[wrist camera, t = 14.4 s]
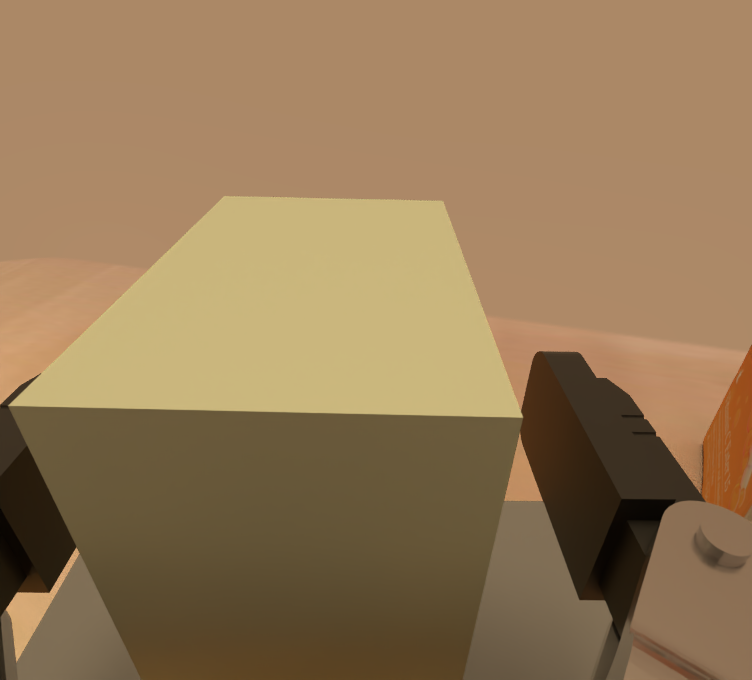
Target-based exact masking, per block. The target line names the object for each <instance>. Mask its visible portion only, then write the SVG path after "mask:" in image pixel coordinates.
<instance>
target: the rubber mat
mask: <svg viewBox="0 0 752 680" xmlns="http://www.w3.org/2000/svg"><path fill="white" fill-rule="evenodd" d="M611 619H612V616H611V614H610V611H609V609H608V606H607V604H606V601H605V600H579V598H578V595H577V592H576V590H575V587H574V584H573V581H572V579H571V576H570V573H569V570H568V568H567V565H566V562H565V560H564V557H563V554H562V551H561V549H560V546H559V543H558V540H557V538H556V535H555V532H554V529H553V527H552V524H551V521H550V518H549V516H548V513H547V510H546V507H545V505H544V502H543V501H504V503H503V507H502V511H501V516H500V520H499V524H498V529H497V533H496V537H495V542H494V546H493V550H492V555H491V559H490V564H489V568H488V572H487V577H486V581H485V585H484V590H483V594H482V598H481V603H480V607H479V611H478V616H477V620H476V624H475V629H474V633H473V637H472V642H471V646H470V650H469V655H468V659H467V663H466V668H465V672H464V676H463V680H590V678H591V675H592V672H593V669H594V666H595V663H596V660H597V657H598V654H599V651H600V648H601V645H602V642H603V639H604V636H605V633H606V630H607V627H608V625H609V623H610V621H611ZM16 666H17V675H18V680H141V678H140V676H139V674H138V672H137V670H136V668H135V666H134V664H133V662H132V660H131V657H130V655H129V653H128V651H127V649H126V647H125V645H124V643H123V641H122V639H121V637H120V635H119V633H118V631H117V629H116V627H115V625H114V623H113V621H112V618H111V616H110V614H109V612H108V610H107V608H106V606H105V604H104V602H103V600H102V598H101V596H100V594H99V592H98V590H97V588H96V586H95V584H94V581H93V579H92V577H91V575H90V573H89V571H88V569H87V567H86V565H85V563H84V561H83V559H82V557H81V555H80V554H79V556H78V557H77V559H76V561H75V563H74V564H73V566H72V568H71V570H70V571H69V573H68V575H67V577H66V578H65V580H64V582H63V583H62V585H61V587H60V589H59V590H58V592H57V594H56V596H55V597H54V599H53V601H52V602H51V604H50V606H49V608H48V609H47V611H46V613H45V615H44V616H43V618H42V620H41V622H40V623H39V625H38V627H37V628H36V630H35V632H34V634H33V635H32V637H31V639H30V641H29V642H28V644H27V646H26V647H25V649H24V651H23V653H22V654H21V656H20V658H19V660H18V661H17V663H16Z"/></svg>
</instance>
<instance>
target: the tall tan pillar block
mask: <svg viewBox="0 0 752 680" xmlns="http://www.w3.org/2000/svg"><path fill="white" fill-rule="evenodd" d="M8 407H9V409H10V411H11V413H12V415H13V417H14V419H15V421H16V423H17V425H18V427H19V429H20V431H21V434H22V436H23V438H24V440H25V442H26V444H27V446H28V448H29V450H30V452H31V454H32V456H33V458H34V460H35V462H36V464H37V466H38V468H39V470H40V473H41V475H42V477H43V479H44V481H45V483H46V485H47V487H48V489H49V491H50V493H51V495H52V497H53V499H54V501H55V503H56V505H57V507H58V510H59V512H60V514H61V516H62V518H63V520H64V522H65V524H66V526H67V528H68V530H69V532H70V534H71V536H72V538H73V540H74V542H75V544H76V547H77V549H78V551H79V553H80V555H81V557H82V559H83V561H84V563H85V565H86V567H87V569H88V571H89V573H90V575H91V577H92V579H93V581H94V584H95V586H96V588H97V590H98V592H99V594H100V596H101V598H102V600H103V602H104V604H105V606H106V608H107V610H108V612H109V614H110V616H111V618H112V621H113V623H114V625H115V627H116V629H117V631H118V633H119V635H120V637H121V639H122V641H123V643H124V645H125V647H126V649H127V651H128V653H129V655H130V657H131V660H132V662H133V664H134V666H135V668H136V670H137V672H138V674H139V676H140V678H141V680H463V676H464V672H465V668H466V663H467V659H468V655H469V650H470V646H471V642H472V637H473V633H474V629H475V624H476V620H477V616H478V611H479V607H480V603H481V598H482V594H483V590H484V585H485V581H486V577H487V572H488V568H489V564H490V559H491V555H492V550H493V546H494V542H495V537H496V533H497V529H498V524H499V520H500V516H501V511H502V507H503V503H504V498H505V494H506V490H507V485H508V481H509V477H510V472H511V468H512V464H513V459H514V455H515V451H516V446H517V442H518V438H519V433H520V429H521V425H522V420H523V416H522V413H521V410H520V408H519V405H518V402H517V400H516V397H515V394H514V392H513V389H512V386H511V383H510V381H509V378H508V375H507V373H506V370H505V367H504V365H503V362H502V359H501V356H500V354H499V351H498V348H497V346H496V343H495V340H494V338H493V335H492V332H491V329H490V327H489V324H488V321H487V319H486V316H485V313H484V311H483V308H482V306H481V303H480V300H479V297H478V294H477V292H476V289H475V286H474V284H473V281H472V279H471V276H470V273H469V270H468V267H467V265H466V262H465V259H464V257H463V254H462V251H461V249H460V246H459V243H458V240H457V238H456V235H455V232H454V230H453V227H452V224H451V222H450V219H449V216H448V213H447V211H446V208H445V205H444V203H443V201H422V200H376V199H375V200H374V199H331V198H328V199H327V198H285V197H237V196H235V197H234V196H224V197H223V198H222V199H221V200H220V201H219V202H218V203H217V204H216V205H215V206H214V207H213V208H212V209H211V210H210V211H209V212H208V213H206V214H205V216H204V217H202V218H201V219H200V220H199V221H198V222H197V223H196V224H195V225H194V226H193V227H192V228H191V229H190V230H189V231H188V232H187V233H186V234H185V235H184V236H183V237H182V238H181V239H180V240H179V241H178V242H177V243H176V244H174V245H173V246H172V247H171V248H170V249H169V250H168V251H167V252H166V253H165V254H164V255H163V256H162V257H161V258H160V259H159V260H158V261H157V262H156V263H155V264H154V265H153V266H152V267H151V268H150V269H149V270H148V271H147V272H146V273H145V274H144V275H142V276H141V277H140V278H139V279H138V280H137V281H136V282H135V283H134V284H133V285H132V286H131V287H130V288H129V289H128V290H127V291H126V292H125V293H124V294H123V295H122V296H121V297H120V298H119V299H118V300H117V301H116V302H115V303H114V304H113V305H112V306H111V307H109V308H108V309H107V310H106V311H105V312H104V313H103V314H102V315H101V316H100V317H99V318H98V319H97V320H96V321H95V322H94V323H93V324H92V325H91V326H90V327H89V328H88V329H87V330H86V331H85V332H84V333H83V334H82V335H81V336H80V337H79V338H77V339H76V340H75V341H74V342H73V343H72V344H71V345H70V346H69V347H68V348H67V349H66V350H65V351H64V352H63V353H62V354H61V355H60V356H59V357H58V358H57V359H56V360H55V361H54V362H53V363H52V364H51V365H50V366H49V367H48V368H47V369H46V370H44V371H43V372H42V373H41V374H40V375H39V376H38V377H37V378H36V379H35V380H34V381H33V382H32V383H31V384H30V385H29V386H28V387H27V388H26V389H25V390H24V391H23V392H22V393H21V394H20V395H19V396H18V397H17V398H16V399H15V400H14V401H13V402H11V403H10V404H9V405H8Z"/></svg>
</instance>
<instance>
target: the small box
mask: <svg viewBox="0 0 752 680" xmlns="http://www.w3.org/2000/svg"><path fill="white" fill-rule="evenodd" d="M703 450H704V467H703V487H702V497H703V498H704V500H705V501H706V502H707V503H711V504H715V505H718V506H721V507H723V508H726V509H728V510H730V511H732V512H735V513H737V514H738V515H740V516H742V517H744V518H745V519H747V520H748V521H750V522H751V523H752V345H751V347H750V349H749V351H748V353H747V355H746V357H745V359H744V361H743V363H742V365H741V367H740V369H739V371H738V373H737V375H736V377H735V378H734V380H733V382H732V384H731V386H730V388H729V390H728V392H727V394H726V396H725V398H724V400H723V402H722V404H721V406H720V408H719V410H718V412H717V414H716V416H715V418H714V420H713V422H712V424H711V426H710V428H709V430H708V432H707V434H706V436H705V438H704V441H703Z"/></svg>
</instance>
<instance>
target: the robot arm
mask: <svg viewBox="0 0 752 680" xmlns="http://www.w3.org/2000/svg"><path fill="white" fill-rule="evenodd" d="M39 375H40V374H39ZM39 375H37V376H36V377H34V378H32V379H31V380H29V381H27V382H25V383H24V384H22V385H20V386H19V387H18V388H17V389H16V390H15V391H14V392H13V393H12V394H11V395H10V396H9V397H8V398H7V399H6V400H5V401H4V402H3V403H2V404H1V405H0V680H18V675H17V666H16V657H15V648H14V639H13V630H12V622H11V618H10V616H9V614H8V612H7V611H6V608H7V607H8V605H9V603H10V602H11V600H12V599H13V597H14V596H15V594H16V593H17V592H34V593H49V592H50V591H51V589H52V587H53V586H54V584H55V582H56V581H57V579H58V577H59V576H60V574H61V572H62V571H63V569H64V567H65V565H66V564H67V562H68V560H69V559H70V557H71V555H72V554H73V552H74V550H75V549H76V544H75V542H74V540H73V538H72V536H71V534H70V532H69V530H68V528H67V526H66V524H65V522H64V520H63V518H62V516H61V514H60V512H59V510H58V507H57V505H56V503H55V501H54V499H53V497H52V495H51V493H50V491H49V489H48V487H47V485H46V483H45V481H44V479H43V477H42V475H41V473H40V470H39V468H38V466H37V464H36V462H35V460H34V458H33V456H32V454H31V452H30V450H29V448H28V446H27V444H26V442H25V440H24V438H23V436H22V434H21V431H20V429H19V427H18V425H17V423H16V421H15V419H14V417H13V415H12V413H11V411H10V409H9V407H8V405H9V404H10V403H11V402H13V401H14V400H15V399H16V398H17V397H18V396H19V395H20V394H21V393H22V392H23V391H24V390H25V389H26V388H27V387H28V386H29V385H30V384H31V383H32V382H33V381H34V380H35V379H36V378H37V377H38V376H39ZM521 413H522V416H523V420H522V425H521V429H520V434H521V440H522V444H523V447H524V450H525V452H526V455H527V458H528V461H529V463H530V466H531V469H532V472H533V474H534V477H535V480H536V483H537V485H538V488H539V491H540V494H541V496H542V499H543V502H544V505H545V507H546V510H547V513H548V516H549V518H550V521H551V524H552V527H553V529H554V532H555V535H556V538H557V540H558V543H559V546H560V549H561V551H562V554H563V557H564V560H565V562H566V565H567V568H568V570H569V573H570V576H571V579H572V581H573V584H574V587H575V590H576V592H577V595H578V598H579V600H605V601H606V604H607V606H608V609H609V611H610V614H611V616H612V619H611V621H610V623H609V625H608V627H607V630H606V633H605V636H604V639H603V642H602V645H601V648H600V651H599V654H598V657H597V660H596V663H595V666H594V669H593V672H592V675H591V678H590V680H752V523H751V522H750V521H748V520H747V519H745V518H744V517H742V516H740V515H738V514H737V513H735V512H732V511H730V510H728V509H726V508H723V507H721V506H718V505H715V504H711V503H707V502H706V501H705V500H704V498H703V497H702V496H701V494H700V493H699V491H698V490H697V489H696V487H695V486H694V485H693V483H692V482H691V480H690V479H689V478H688V476H687V475H686V473H685V472H684V471H683V469H682V468H681V466H680V465H679V464H678V462H677V461H676V459H675V458H674V457H673V455H672V454H671V452H670V451H669V450H668V448H667V447H666V445H665V444H664V443H663V441H662V440H661V438H660V437H656V432H655V430H654V429H653V427H652V426H651V425H650V423H649V422H648V420H647V419H644V415H643V413H642V412H641V411H640V409H639V408H638V406H637V405H636V404H635V402H634V401H633V399H632V398H631V397H630V395H628V394H627V393H626V392H624V391H623V390H622V389H620V388H619V387H618V386H616V385H615V384H614V383H612V382H611V381H610V380H608V379H607V378H596V376H595V375H594V373H593V372H592V370H591V369H590V367H589V366H588V364H587V363H586V361H585V360H584V358H583V357H582V355H581V354H580V353H578V352H544V351H539V352H537V353H536V354H535V356H534V358H533V361H532V365H531V370H530V374H529V379H528V383H527V387H526V392H525V396H524V401H523V405H522V410H521Z"/></svg>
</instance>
